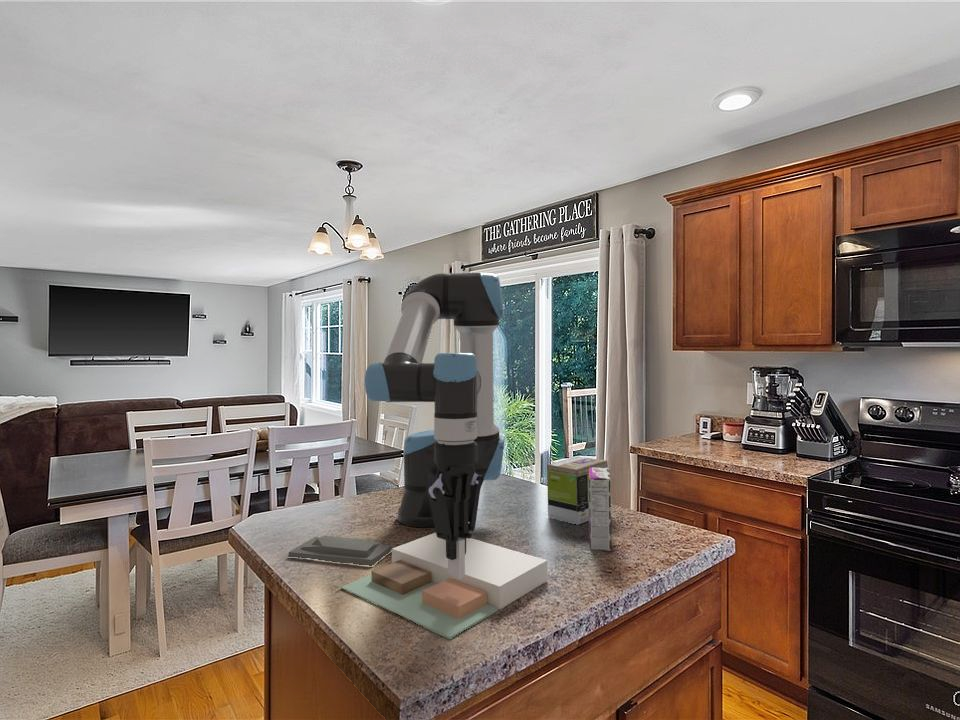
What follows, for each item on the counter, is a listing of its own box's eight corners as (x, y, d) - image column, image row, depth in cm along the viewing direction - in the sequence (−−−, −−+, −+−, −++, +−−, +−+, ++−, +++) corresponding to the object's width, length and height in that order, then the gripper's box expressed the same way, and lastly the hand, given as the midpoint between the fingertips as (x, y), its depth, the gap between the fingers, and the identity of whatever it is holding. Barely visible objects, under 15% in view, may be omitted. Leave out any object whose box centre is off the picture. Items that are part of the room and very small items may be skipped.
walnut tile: (371, 581, 102) (371, 570, 102) (399, 569, 108) (399, 560, 108) (402, 595, 96) (402, 584, 96) (430, 582, 102) (430, 571, 102)
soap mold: (315, 544, 125) (315, 529, 125) (393, 553, 119) (393, 538, 119) (287, 560, 115) (287, 544, 115) (371, 571, 109) (371, 554, 109)
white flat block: (392, 568, 110) (391, 548, 110) (442, 547, 121) (442, 529, 121) (499, 609, 92) (499, 586, 92) (547, 580, 103) (547, 560, 103)
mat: (340, 588, 100) (340, 586, 100) (390, 568, 109) (390, 566, 109) (450, 639, 82) (450, 637, 82) (498, 610, 91) (498, 608, 91)
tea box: (579, 506, 153) (579, 455, 153) (609, 513, 146) (609, 460, 146) (546, 517, 143) (546, 462, 143) (577, 526, 136) (577, 468, 136)
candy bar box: (588, 533, 130) (588, 466, 130) (609, 535, 129) (609, 467, 129) (588, 550, 119) (588, 477, 119) (611, 552, 118) (611, 478, 118)
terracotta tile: (422, 602, 94) (422, 590, 94) (450, 588, 99) (450, 578, 99) (459, 618, 88) (459, 606, 88) (486, 603, 93) (486, 592, 93)
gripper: (445, 448, 86) (446, 594, 86) (495, 438, 96) (496, 569, 96) (413, 443, 91) (414, 582, 91) (464, 434, 101) (464, 559, 101)
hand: (456, 575), depth 93 cm, fingers closed
